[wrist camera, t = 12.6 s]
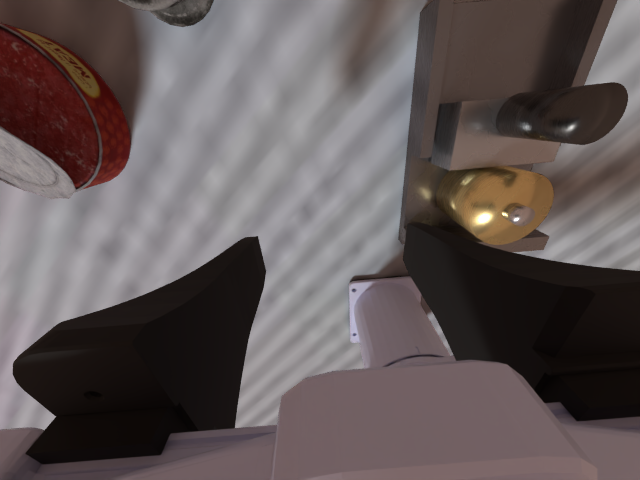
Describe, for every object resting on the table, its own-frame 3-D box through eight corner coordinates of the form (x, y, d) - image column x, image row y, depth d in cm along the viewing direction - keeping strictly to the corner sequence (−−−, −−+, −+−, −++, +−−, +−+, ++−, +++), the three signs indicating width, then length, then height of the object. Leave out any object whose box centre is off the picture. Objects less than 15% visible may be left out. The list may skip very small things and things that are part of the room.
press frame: (500, 230, 22) (541, 255, 18) (398, 239, 22) (417, 265, 19) (577, -2, 15) (676, -46, 11) (420, 12, 15) (460, -26, 11)
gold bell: (489, 213, 20) (551, 247, 15) (432, 220, 21) (475, 256, 15) (504, 154, 18) (583, 170, 13) (440, 163, 18) (493, 182, 13)
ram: (520, 155, 18) (636, 177, 12) (430, 163, 18) (497, 189, 12) (540, 91, 16) (695, 74, 10) (439, 100, 16) (526, 90, 10)
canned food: (167, 144, 22) (140, 225, 17) (55, 158, 21) (-13, 247, 16) (51, -40, 13) (-102, 5, 7) (-158, -29, 12) (-509, 31, 6)
